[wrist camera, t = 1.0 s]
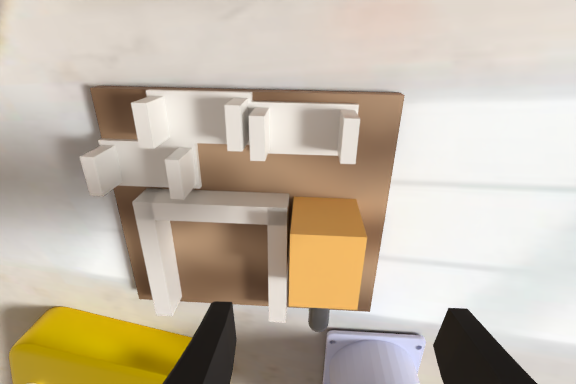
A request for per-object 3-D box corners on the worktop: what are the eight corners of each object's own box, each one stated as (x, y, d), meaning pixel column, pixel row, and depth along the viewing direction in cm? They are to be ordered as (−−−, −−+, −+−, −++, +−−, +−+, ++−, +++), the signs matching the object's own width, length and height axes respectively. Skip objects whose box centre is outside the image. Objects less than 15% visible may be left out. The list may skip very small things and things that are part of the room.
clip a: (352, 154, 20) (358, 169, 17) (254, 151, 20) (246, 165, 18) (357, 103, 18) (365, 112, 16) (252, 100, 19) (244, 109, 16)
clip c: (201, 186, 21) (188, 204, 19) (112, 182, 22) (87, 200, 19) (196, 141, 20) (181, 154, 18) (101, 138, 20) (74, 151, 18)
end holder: (287, 302, 25) (285, 322, 23) (167, 295, 25) (156, 315, 24) (289, 193, 21) (287, 208, 19) (147, 188, 22) (132, 201, 20)
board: (367, 302, 26) (369, 311, 25) (145, 290, 27) (139, 298, 26) (399, 92, 19) (404, 95, 18) (99, 85, 20) (89, 88, 19)
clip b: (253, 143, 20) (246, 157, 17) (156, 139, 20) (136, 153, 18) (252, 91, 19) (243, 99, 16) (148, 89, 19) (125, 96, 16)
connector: (343, 309, 25) (350, 361, 21) (291, 306, 25) (287, 357, 21) (356, 199, 21) (367, 237, 17) (293, 196, 21) (290, 234, 17)
